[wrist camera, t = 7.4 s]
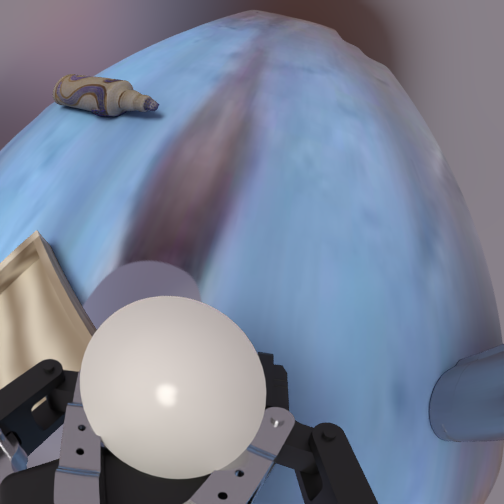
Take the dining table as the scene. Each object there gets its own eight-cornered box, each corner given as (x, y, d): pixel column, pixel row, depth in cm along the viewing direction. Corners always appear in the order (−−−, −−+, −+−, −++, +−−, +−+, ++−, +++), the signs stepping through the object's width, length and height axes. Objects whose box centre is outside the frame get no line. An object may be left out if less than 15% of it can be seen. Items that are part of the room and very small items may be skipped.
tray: (50, 245, 28) (36, 230, 25) (125, 370, 23) (111, 365, 20) (-33, 327, 21) (-50, 318, 18) (21, 454, 16) (2, 456, 13)
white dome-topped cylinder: (205, 335, 18) (176, 261, 9) (263, 393, 17) (307, 390, 7) (145, 387, 16) (51, 367, 7) (203, 447, 15) (167, 510, 5)
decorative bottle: (56, 112, 42) (46, 86, 36) (82, 92, 46) (75, 67, 40) (142, 136, 38) (135, 100, 33) (172, 111, 42) (169, 77, 36)
